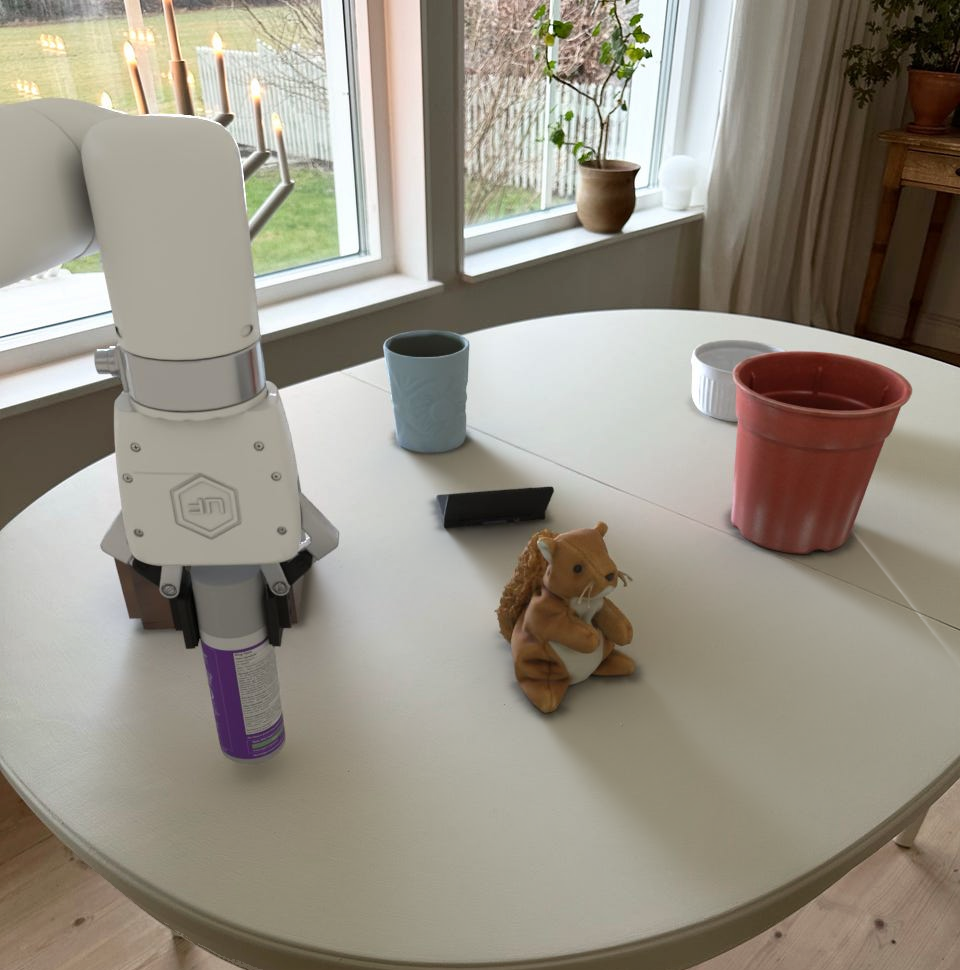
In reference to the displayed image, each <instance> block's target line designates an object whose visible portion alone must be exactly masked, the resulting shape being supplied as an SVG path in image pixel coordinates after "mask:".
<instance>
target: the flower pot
mask: <svg viewBox="0 0 960 970" xmlns="http://www.w3.org/2000/svg"><path fill="white" fill-rule="evenodd" d="M733 380H734V383H735V385H736V386H737V393H736V409H735V412H736V416H737V418H738V422H737V427H736V443H735V456H734V459H735V460H734V468H733V469H734V470H733V484H732V498H731V499H732V500H731V513H730V521H731V524H732V526H733V527H735V528H737V529H738V531H739V532H740V534H741V536H742V537H743V538H744V539H746V540H747V541H749V542H752V543H754V544H755V545H758V546H761V547H763V548H766V549H769V550H773V551H777V552H782V553H788V554H799V555H800V554H801V555H808V554H809V553H811V552H813V551H815V550H816V551H817V550H822V551H823V552H830V551H833V550H836V549H838V548H840V547H841V546H843V545H844V544H845V543H846V542H847V541H848V540H849V538H850V536H851V533H852V530H853V528H854V524H855V522H856V520H857V516H858V514H859V512H860V511H859V510H860V509H861V505H862V503H863V500H864V497H865V495H866V492H867V489H868V487H869V484H870V481H871V479H872V476H873V473H874V470H875V467H876V465H877V463H878V459H879V456H880V454H881V451H882V449H883V447H884V443H885V441H886V439H887V438H888V437H889V436H890V435H891V433H892V432H893V429H894V426H895V425H896V421H897V419H898V416H899V413H900V411H901V408H902V407H903V406H904V405H905V404H907V403H908V402H909V400H910V398H911V396H912V395H913V387H912V385H911V383H910V382H909V380H908V379H907V378H906V377H905V376H903V375H902V374H901V373H899V372H897V371H895V370H894V369H892V368H890V367H887V366H885V365H882V364H879V363H876V362H874V361H870V360H867V359H863V358H860V357H855V356H852V355H846V354H841V353H840V354H839V353H834V352H827V351H826V352H825V351H812V350H810V351H809V350H786V351H783V352H773V353H767V354H761V355H757V356H753V357H750V358H747V359H745V360H743V361H741V362H740V363H739V364H737V365H736V367H735V368H734V370H733Z"/></svg>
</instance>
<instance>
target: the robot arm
mask: <svg viewBox="0 0 960 970" xmlns="http://www.w3.org/2000/svg"><path fill="white" fill-rule="evenodd" d="M244 178H245V177H244V170H243V164H242V158H241V152H240V149H239V146H238V144H237V141H236V140H235V138H234V136H233V135H232V133H231V131H229V129H228V128H226V127H225V126H223V125H222V124H221V123H219V122H217V121H214V120H213V119H212V120H211V119H209V118H206V117H201V116H193V115H184V114H172V113H170V114H169V113H157V114H156V113H147V114H146V113H145V114H130V113H126V112H123V111H118V110H115V109H112V108H108V107H106V106H102V105H98V104H95V103H91V102H87V101H83V100H80V99H79V100H78V99H73V98H66V97H43V98H41V97H40V98H35V99H31V100H30V99H29V100H24V101H19V102H12V103H2V104H1V103H0V289H4V288H5V287H9V286H11V285H14V284H16V283H19V282H21V281H23V280H24V281H25V280H26V279H29V278H31V277H34V276H36V275H39V274H41V273H43V272H44V273H45V272H46V271H49V270H51V269H53V268H56V267H58V266H61V265H63V264H66V263H70V262H74V261H77V260H80V259H84V258H86V257H89V256H93V255H96V254H98V253H99V254H100V259H101V266H102V269H103V274H104V278H105V279H104V280H105V284H106V288H107V295H108V298H109V303H110V309H111V315H112V318H113V319H112V320H113V323H114V329H115V334H116V339H117V342H116V344H115V346H109V347H108V348H107V349H95V350H94V355H93V356H94V357H93V358H94V359H93V360H94V366H95V367H94V368H95V370H96V373H97V374H98V375H111V376H112V378H113V377H114V378H115V377H117V378H118V380H119V382H120V383H122V389H123V390H122V392H121V393H120V394H119V395H118V396H117V397H116V399H115V400H114V403H113V404H114V407H113V437H114V452H115V453H114V454H115V463H116V473H117V482H118V490H119V499H120V507H121V508H120V510H119V512H118V513H117V515H116V516H115V518H114V520H113V521H112V522H111V524H110V526H109V527H108V528H107V530H106V532H105V533H104V535H103V537H102V539H101V542H100V545H99V546H100V547H99V548H100V550H101V551H102V552H103V553H105V554H106V555H108V556H110V557H112V558H113V559H114V558H116V559H118V560H120V561H121V562H123V563H125V564H130V565H132V567H133V569H134V570H135V571H136V572H138V573H139V574H140V575H142V576H143V577H145V578H146V579H148V580H149V581H151V582H152V583H154V584H155V585H157V586H158V587H159V590H160V593H161V594H162V595H163V596H164V597H166V598H169V603H170V608H171V613H172V618H173V623H174V628H175V629H174V631H177V632H182V636H183V640H184V646H185V649H186V650H195V649H196V647H199V644H200V642H201V641H200V635H199V628H198V621H197V614H196V608H195V601H194V594H193V588H192V581H191V574H190V572H188V571H187V570H186V569H187V566H219V565H260V567H261V570H262V572H263V574H264V576H265V578H266V581H267V582H266V587H265V593H264V608H265V616H266V624H267V631H268V639H269V645H272V646H273V647H274V648H276V647H281V646H282V640H283V634H284V629H292V627H293V624H292V605H291V596H290V586H292V585H293V584H294V583H295V582H296V581H297V580H298V579H299V578H300V577H301V576H302V575H303V574H304V573H305V574H306V573H307V572H308V571H309V570H310V569H311V568H312V566H313V564H314V563H316V562H319V561H321V560H322V559H323V558H325V557H326V556H327V555H329V554H330V553H332V552H333V551H335V550H336V549H337V548H339V547H338V546H339V542H340V531H339V529H338V528H337V527H336V526H335V525H334V524H333V523H332V522H331V521H330V520H329V519H328V518H327V517H326V516H325V515H324V514H323V513H322V512H321V510H319V509H318V508H317V506H316V505H315V504H314V503H313V502H312V501H311V500H310V499H309V498H308V497H307V496H306V495H305V494H304V493H303V492H302V488H301V481H300V475H299V469H298V464H297V458H296V451H295V447H294V443H293V437H292V432H291V429H290V424H289V422H288V421H289V420H288V417H287V414H286V410H285V407H284V404H283V400H282V398H281V394H280V392H279V388H278V387H277V385H276V384H275V383H273V382H272V381H269V380H267V378H266V368H265V360H264V351H263V350H264V349H263V343H262V342H263V341H262V335H261V328H260V316H259V308H258V300H257V299H258V298H257V289H256V288H257V287H256V279H255V270H254V261H253V260H254V259H253V252H252V251H253V250H252V242H251V241H252V240H251V234H250V232H251V231H250V223H249V215H248V214H249V213H248V207H247V206H248V205H247V198H246V188H245V180H244ZM301 529H302V530H303V531H304V532H305V535H307V536H308V537H306V540H305V541H304V542H300V541H301ZM140 532H141V533H140ZM305 574H304V575H305Z"/></svg>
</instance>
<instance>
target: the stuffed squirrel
mask: <svg viewBox="0 0 960 970" xmlns="http://www.w3.org/2000/svg"><path fill="white" fill-rule="evenodd" d="M608 530H609V526H608V525H607V524H606V522H603V521H601V520H600V521H597V523H595V525H594V527H593V528H590V527H582V528H577V529H574V530H569V531H567V532H564V533H561V534H560V533H557V532H555V531H552V530H551V529H548V528H545V529H541V530H539V531H538V532H536V533H534V534H532V536H530V539H529V541H528V543H527V545H526V546H525V548H524V550H523V551H522V552H521V553H520V554H519V556H517V560H518V562H517V564H516V567H515V568H514V571H513V573H511V577H510V578H511V579H509V580H508V582H507V583H506V584H505V585H504V586H503V587H504V590H503V591H501V592H502V593H501V595H502V597H500V599H499V606H498V608H497V609H495V610H494V613H496V617H497V621H498V627H499V628H500V631H499V634H501V635H502V637H503V638H504V640H506V642H507V643H509V644H510V648H511V657H512V662H513V672H514V676H515V680H516V681H517V684H518V686H519V687H520V689H521V690H522V692H523V693H524V695H525V696H526V697H527V698H528V700H529V701H530V702H531V703H532V704H533V705H534V706H535V707H536V708H538V710H539V711H540V712H542V713H544V714H547V713H552V712H555V711H556V710H557V708H558V707H559V705H560V704H561V702H562V700H563V698H564V696H565V694H566V692H567V691H568V688H569V686H570V685H571V686H572V685H576V684H579V683H581V682H584V681H585V680H587V679H588V678H589V677H590V676H591V675H594V676H631V675H632V674H633V673H634V671H635V667H636V663H635V661H634V659H632V658H631V657H630V656H629V655H628V654H625V653H623V652H621V651H620V650H617V649H615V647H616V645H617V646H619V647H624V646H626V645H630V644H631V643H632V641H633V638H634V628H633V626H632V623H631V621H630V620H629V619H628V618H627V616H626V615H625V614H624V613H623V611H621V609H619V607H618V606H616V604H615V603H614V602H613V601H612V600H610V598H607V597H606V596H609V595H610V594H611V593H613V592H614V591H615V589H616V588H617V586H618V581H619V579H620V580H621V582H622V583H623V588H626V587H628V582H627V580H628V581H630V582H633V581H634V580H633V578H632V577H631V576H630V575H628V574H627V573H625V572H623V571H621V570H618V567H617V565H616V563H615V561H614V560H613V559H612V558H611V557H610V555H609V550H608V548H607V544H606V541H605V539H604V537H605V535H607V532H608ZM625 577H627V580H626V578H625Z"/></svg>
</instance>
